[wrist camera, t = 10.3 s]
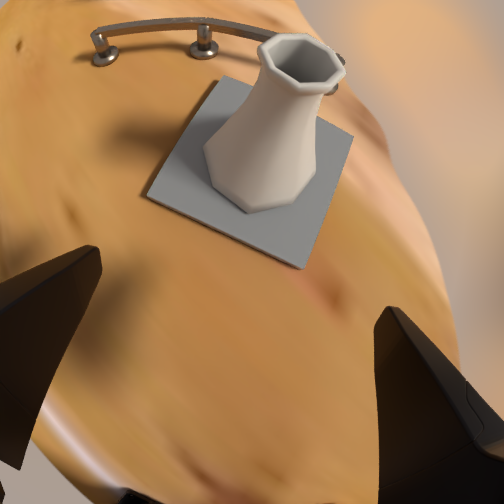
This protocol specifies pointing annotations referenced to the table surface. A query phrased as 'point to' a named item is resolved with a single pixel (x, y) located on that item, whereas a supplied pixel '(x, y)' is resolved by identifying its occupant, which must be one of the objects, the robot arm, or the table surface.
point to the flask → (274, 125)
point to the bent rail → (204, 27)
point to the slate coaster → (227, 212)
